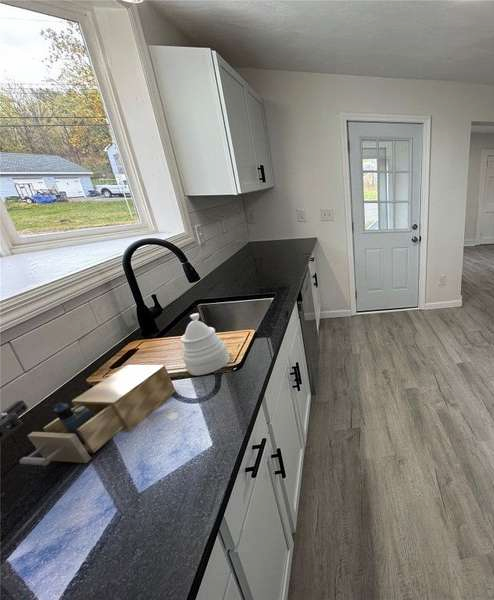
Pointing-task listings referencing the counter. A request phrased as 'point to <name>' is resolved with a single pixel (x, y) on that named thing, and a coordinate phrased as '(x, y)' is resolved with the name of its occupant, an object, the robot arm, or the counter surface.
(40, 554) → the counter surface
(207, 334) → the honey pot
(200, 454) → the counter surface
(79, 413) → the vaping device
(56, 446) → the drawer
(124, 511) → the counter surface
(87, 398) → the cabinet
